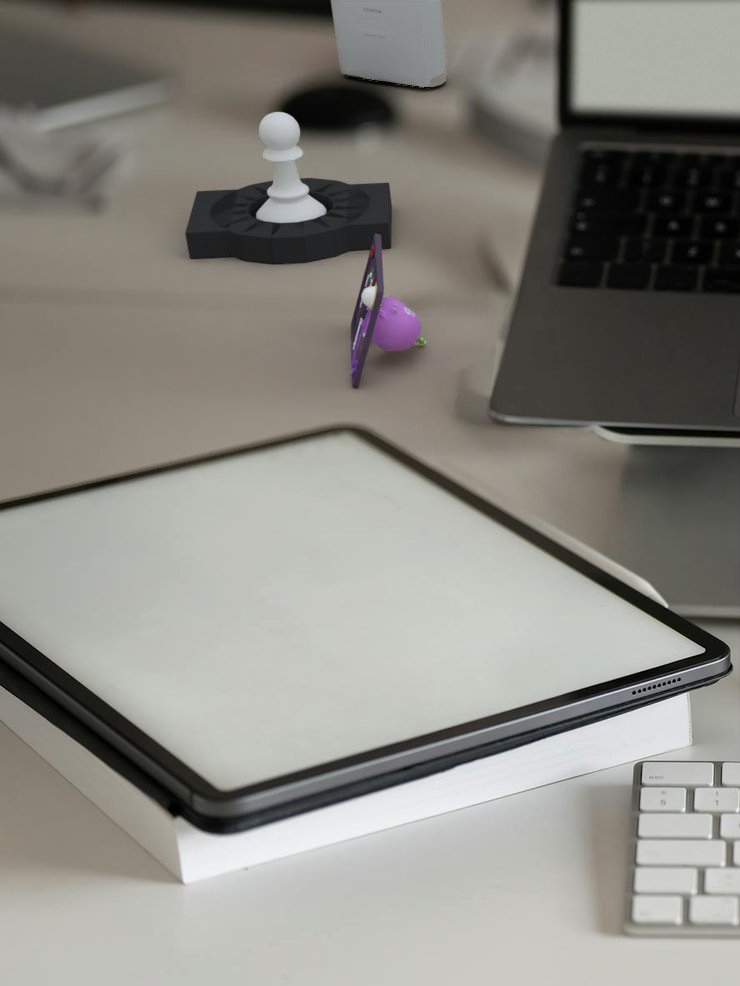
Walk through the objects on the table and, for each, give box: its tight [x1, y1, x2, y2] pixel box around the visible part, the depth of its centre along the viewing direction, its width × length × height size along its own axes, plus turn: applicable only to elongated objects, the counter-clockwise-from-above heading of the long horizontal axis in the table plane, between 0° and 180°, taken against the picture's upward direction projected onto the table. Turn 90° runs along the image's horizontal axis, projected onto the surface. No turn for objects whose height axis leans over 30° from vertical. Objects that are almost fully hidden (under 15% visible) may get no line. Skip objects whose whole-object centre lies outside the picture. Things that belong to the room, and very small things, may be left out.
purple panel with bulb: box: [350, 234, 427, 387], centre depth 108 cm, size 7×5×9 cm
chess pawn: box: [256, 111, 327, 223], centre depth 123 cm, size 5×5×9 cm
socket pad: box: [185, 177, 393, 265], centre depth 125 cm, size 14×11×2 cm
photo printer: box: [330, 0, 448, 88], centre depth 152 cm, size 10×4×12 cm, turn 69°
